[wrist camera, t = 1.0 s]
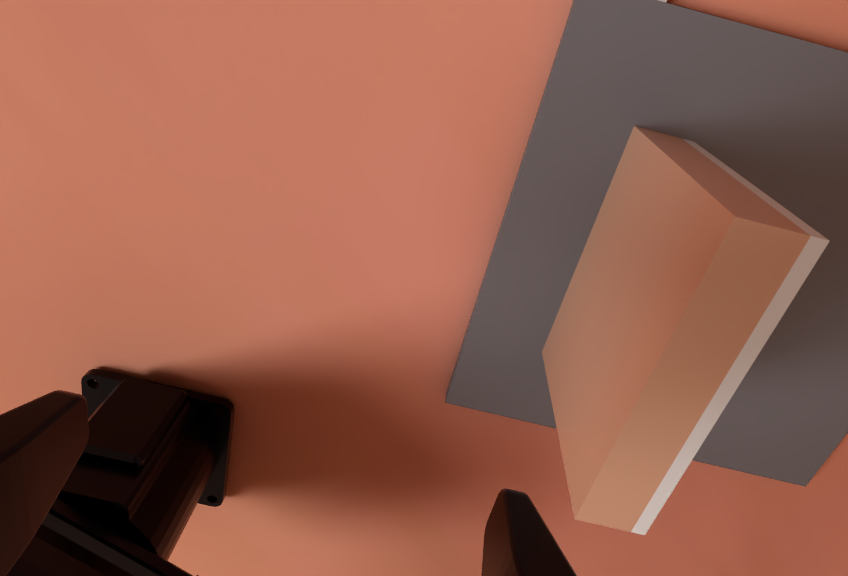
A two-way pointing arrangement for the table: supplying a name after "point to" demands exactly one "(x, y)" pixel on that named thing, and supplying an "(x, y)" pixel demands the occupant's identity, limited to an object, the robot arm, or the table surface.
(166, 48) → the table surface
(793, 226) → the tile
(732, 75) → the mat
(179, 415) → the robot arm
